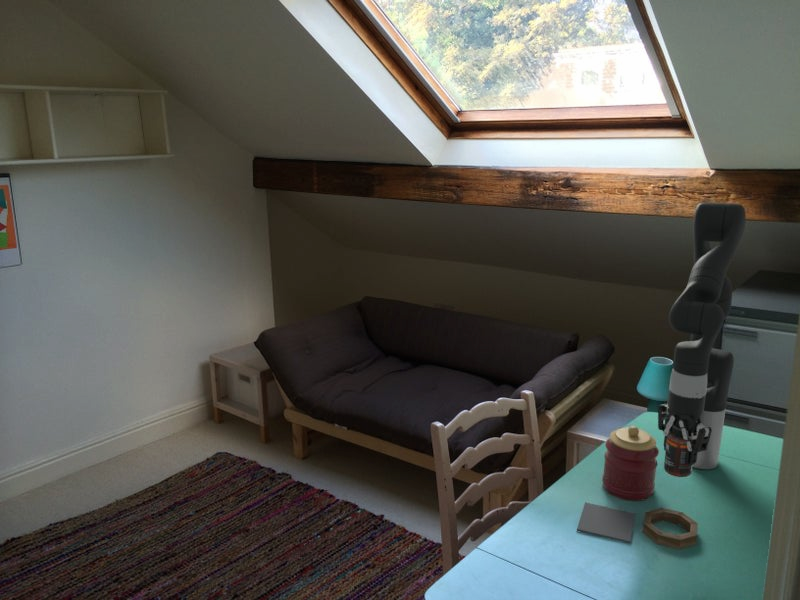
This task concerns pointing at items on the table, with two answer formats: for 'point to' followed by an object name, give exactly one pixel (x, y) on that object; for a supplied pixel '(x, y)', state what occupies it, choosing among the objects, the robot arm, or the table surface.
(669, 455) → the supplement bottle
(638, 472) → the canister
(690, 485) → the table surface
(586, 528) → the coaster
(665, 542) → the collar
